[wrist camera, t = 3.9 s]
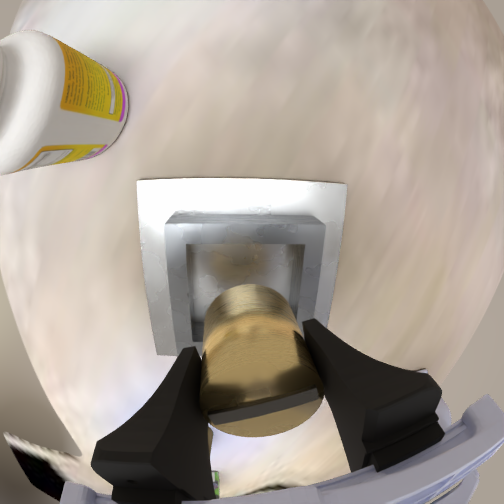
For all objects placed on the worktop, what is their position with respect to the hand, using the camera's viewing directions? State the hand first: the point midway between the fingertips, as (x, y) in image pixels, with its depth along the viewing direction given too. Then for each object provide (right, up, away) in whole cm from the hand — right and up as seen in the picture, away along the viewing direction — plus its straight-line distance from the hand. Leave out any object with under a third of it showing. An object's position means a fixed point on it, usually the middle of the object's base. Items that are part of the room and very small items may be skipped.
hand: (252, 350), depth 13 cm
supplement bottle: (-11, +14, +3) cm, 18 cm away
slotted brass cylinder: (0, +1, +3) cm, 3 cm away
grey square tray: (-1, +3, +8) cm, 8 cm away
